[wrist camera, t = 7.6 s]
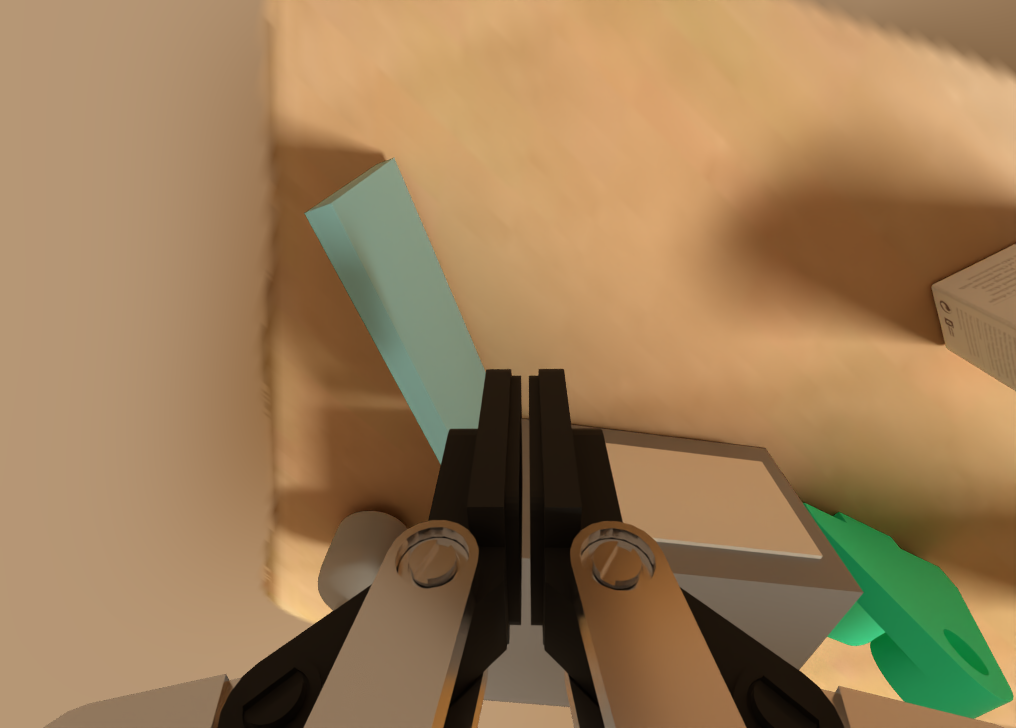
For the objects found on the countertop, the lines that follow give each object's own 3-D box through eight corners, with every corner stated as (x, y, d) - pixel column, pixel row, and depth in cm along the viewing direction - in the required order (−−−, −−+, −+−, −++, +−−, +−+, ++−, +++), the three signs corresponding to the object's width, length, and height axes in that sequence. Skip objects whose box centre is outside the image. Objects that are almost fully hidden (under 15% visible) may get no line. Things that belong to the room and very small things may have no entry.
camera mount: (710, 561, 33) (783, 738, 24) (794, 489, 30) (915, 664, 21) (837, 613, 36) (943, 788, 27) (926, 553, 33) (1081, 730, 24)
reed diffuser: (305, 541, 32) (67, 1083, 15) (307, 463, 29) (1, 1050, 11) (458, 564, 33) (403, 1093, 16) (479, 492, 30) (435, 1066, 13)
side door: (500, 408, 26) (497, 529, 19) (486, 412, 26) (478, 533, 19) (394, 157, 20) (331, 203, 13) (376, 164, 20) (304, 213, 13)
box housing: (766, 445, 28) (866, 589, 20) (698, 571, 33) (755, 722, 26) (486, 411, 27) (476, 549, 19) (465, 547, 32) (450, 697, 25)
